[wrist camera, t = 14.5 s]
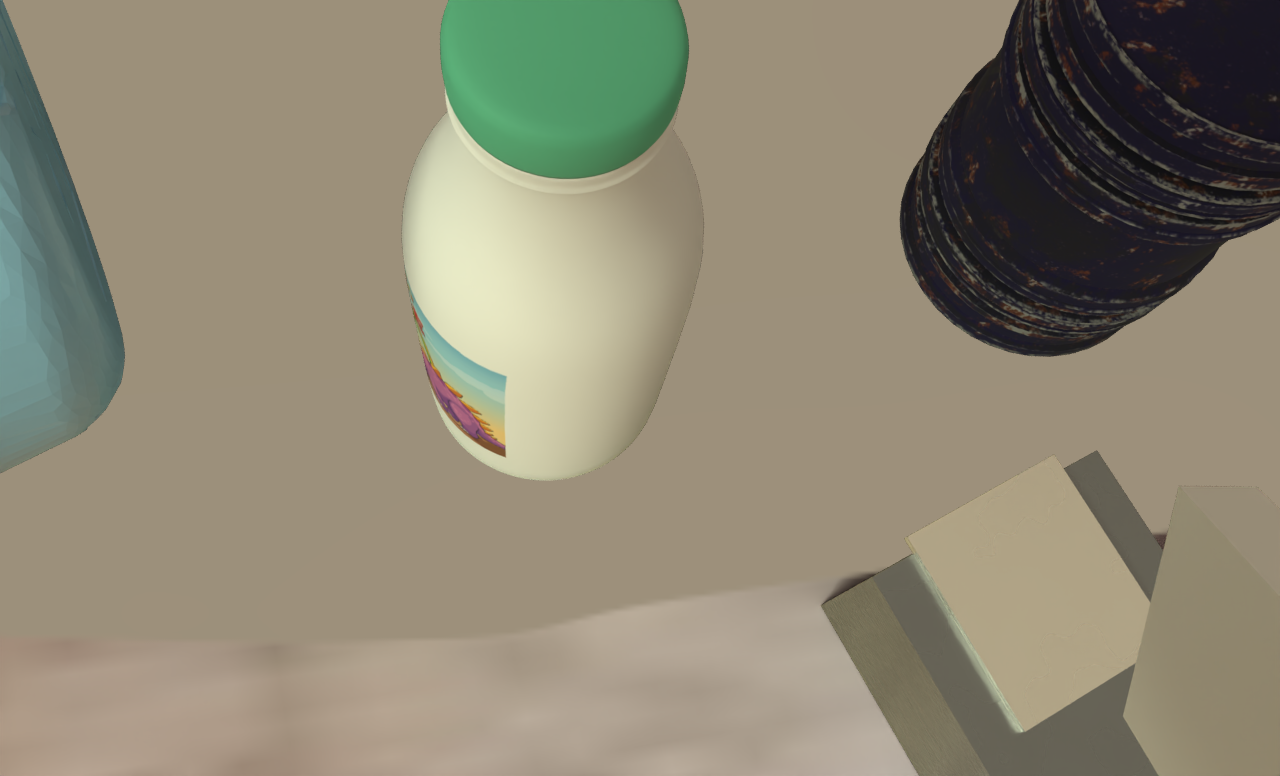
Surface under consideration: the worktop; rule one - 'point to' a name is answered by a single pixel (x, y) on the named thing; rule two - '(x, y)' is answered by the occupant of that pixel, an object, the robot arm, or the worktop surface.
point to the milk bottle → (553, 228)
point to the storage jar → (1096, 167)
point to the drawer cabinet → (1012, 629)
